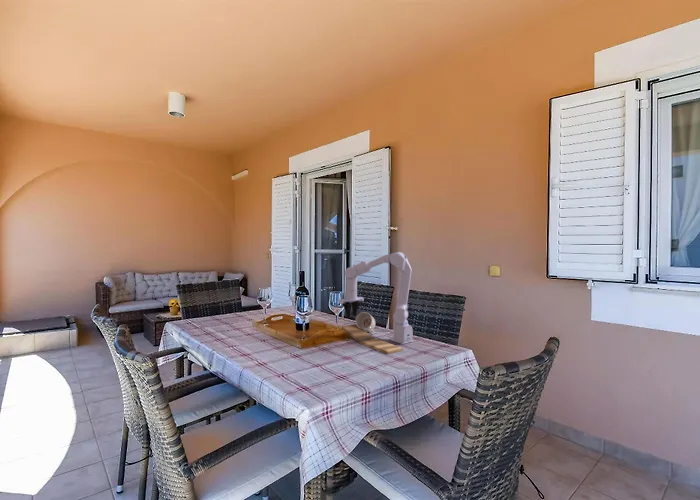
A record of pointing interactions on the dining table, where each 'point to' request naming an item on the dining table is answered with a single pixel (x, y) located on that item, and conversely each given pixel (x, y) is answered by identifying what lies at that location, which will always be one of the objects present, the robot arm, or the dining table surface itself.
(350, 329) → the plank
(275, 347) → the dining table surface
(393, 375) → the dining table surface
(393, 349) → the oak board
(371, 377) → the dining table surface
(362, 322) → the mug
